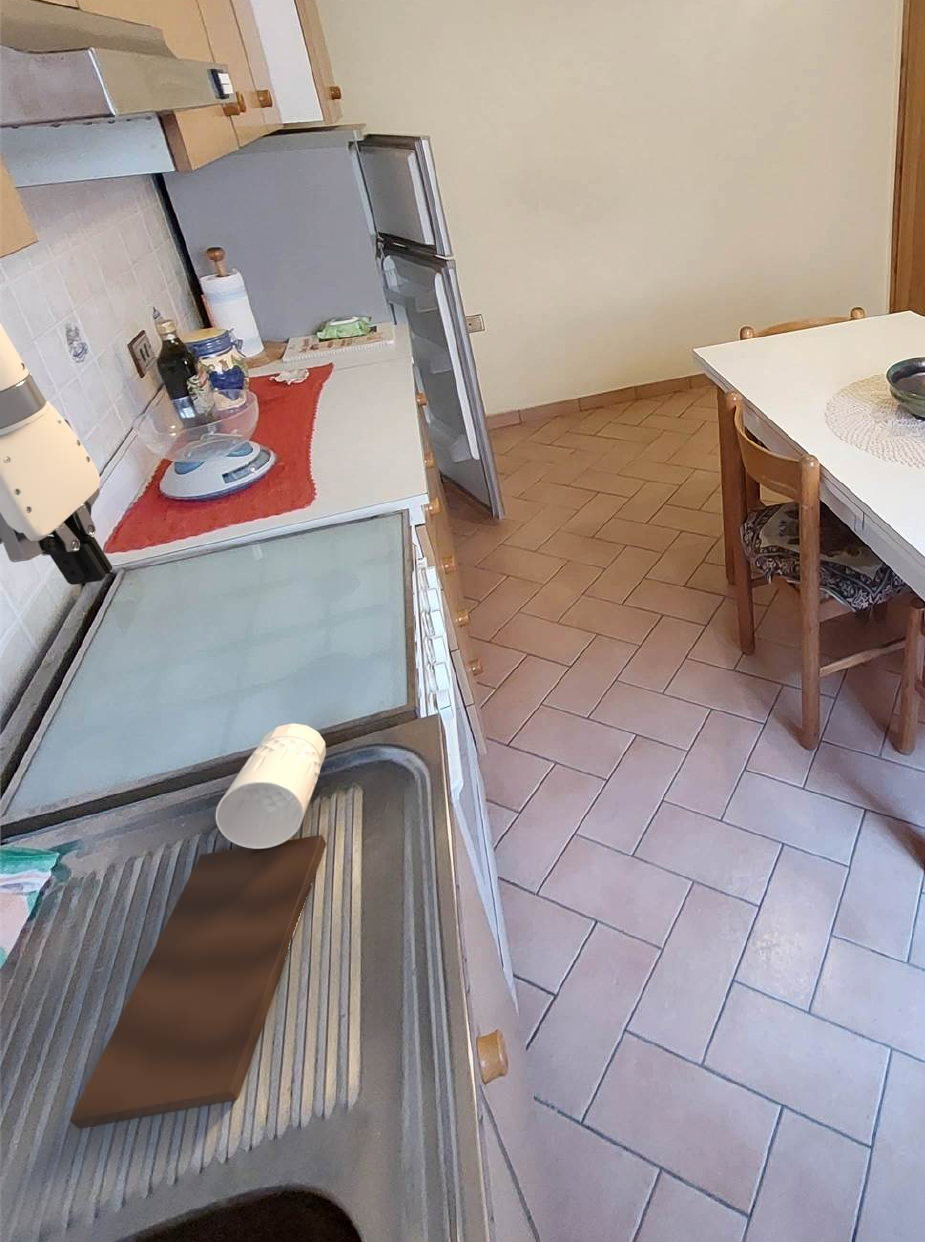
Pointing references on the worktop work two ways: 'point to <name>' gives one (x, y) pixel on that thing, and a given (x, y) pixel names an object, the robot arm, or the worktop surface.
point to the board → (204, 986)
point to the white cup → (272, 788)
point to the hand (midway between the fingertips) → (91, 577)
